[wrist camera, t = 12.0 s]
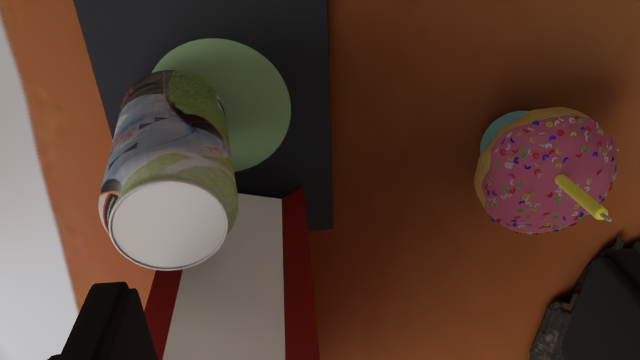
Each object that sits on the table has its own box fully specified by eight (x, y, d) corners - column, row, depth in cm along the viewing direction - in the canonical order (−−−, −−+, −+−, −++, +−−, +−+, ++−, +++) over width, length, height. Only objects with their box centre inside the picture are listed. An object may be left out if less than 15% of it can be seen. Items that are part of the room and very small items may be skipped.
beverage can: (126, 55, 28) (43, 151, 18) (253, 74, 30) (242, 174, 19) (128, 150, 31) (58, 278, 21) (243, 164, 33) (228, 291, 22)
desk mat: (59, -63, 26) (54, -62, 25) (324, -75, 26) (325, -74, 26) (143, 238, 36) (141, 244, 35) (332, 224, 37) (333, 229, 36)
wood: (581, 229, 39) (603, 254, 36) (664, 235, 40) (691, 260, 37) (493, 401, 50) (505, 429, 48) (560, 403, 51) (575, 430, 49)
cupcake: (437, 120, 33) (511, 226, 23) (559, 59, 31) (697, 144, 21) (476, 210, 37) (554, 334, 27) (586, 160, 36) (712, 271, 25)
